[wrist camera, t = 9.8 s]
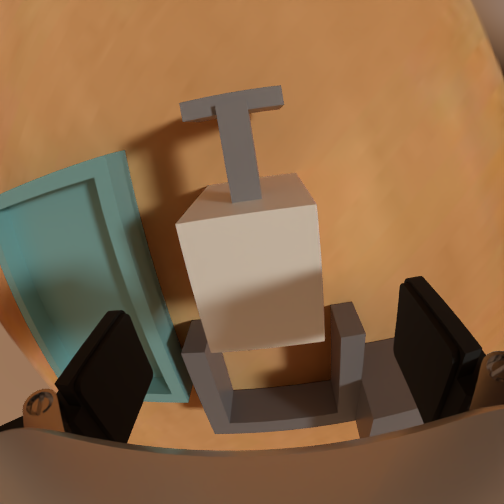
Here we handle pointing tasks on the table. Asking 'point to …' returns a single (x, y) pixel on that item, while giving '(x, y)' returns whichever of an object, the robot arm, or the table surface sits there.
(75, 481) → the robot arm
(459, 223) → the table surface
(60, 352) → the tray
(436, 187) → the table surface
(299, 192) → the t-handle cube
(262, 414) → the bay
